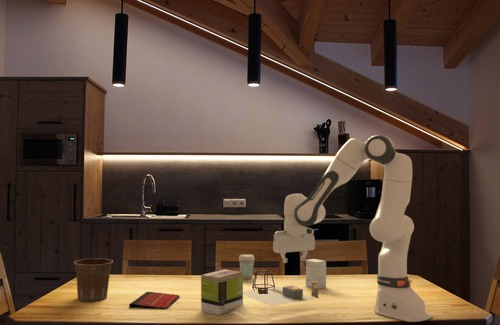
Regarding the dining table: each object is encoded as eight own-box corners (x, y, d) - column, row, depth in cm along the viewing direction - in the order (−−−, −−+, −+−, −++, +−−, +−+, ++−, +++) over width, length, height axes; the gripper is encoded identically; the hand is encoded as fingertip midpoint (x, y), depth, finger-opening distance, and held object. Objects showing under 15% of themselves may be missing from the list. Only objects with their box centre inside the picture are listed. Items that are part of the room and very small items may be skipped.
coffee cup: (236, 276, 249) (236, 254, 249) (251, 276, 251) (251, 253, 252) (241, 280, 241) (241, 257, 241) (256, 279, 243) (256, 256, 244)
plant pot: (119, 295, 207) (120, 259, 207) (98, 304, 191) (99, 265, 192) (88, 292, 211) (88, 257, 212) (65, 301, 196) (65, 263, 196)
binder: (129, 303, 187) (146, 291, 208) (128, 309, 187) (146, 296, 208) (167, 306, 185) (180, 293, 206) (167, 312, 185) (180, 299, 206)
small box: (326, 287, 226) (326, 260, 227) (317, 289, 222) (317, 262, 223) (314, 284, 232) (314, 258, 233) (305, 286, 228) (305, 259, 229)
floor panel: (312, 302, 198) (313, 298, 198) (270, 309, 186) (270, 305, 187) (278, 289, 220) (278, 286, 220) (238, 295, 209) (238, 292, 209)
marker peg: (319, 297, 206) (319, 282, 206) (314, 298, 204) (314, 282, 204) (315, 296, 208) (315, 280, 209) (310, 297, 207) (310, 281, 207)
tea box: (225, 303, 195) (225, 268, 196) (243, 307, 189) (243, 271, 189) (200, 311, 183) (200, 273, 184) (218, 316, 177) (218, 277, 178)
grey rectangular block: (302, 297, 200) (302, 288, 200) (293, 298, 198) (293, 290, 198) (291, 293, 207) (291, 285, 207) (282, 294, 204) (282, 286, 205)
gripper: (277, 232, 196) (277, 264, 195) (316, 229, 205) (317, 261, 205) (270, 230, 201) (270, 262, 201) (308, 228, 211) (308, 258, 210)
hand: (294, 261), depth 203 cm, fingers open, 8 cm apart
